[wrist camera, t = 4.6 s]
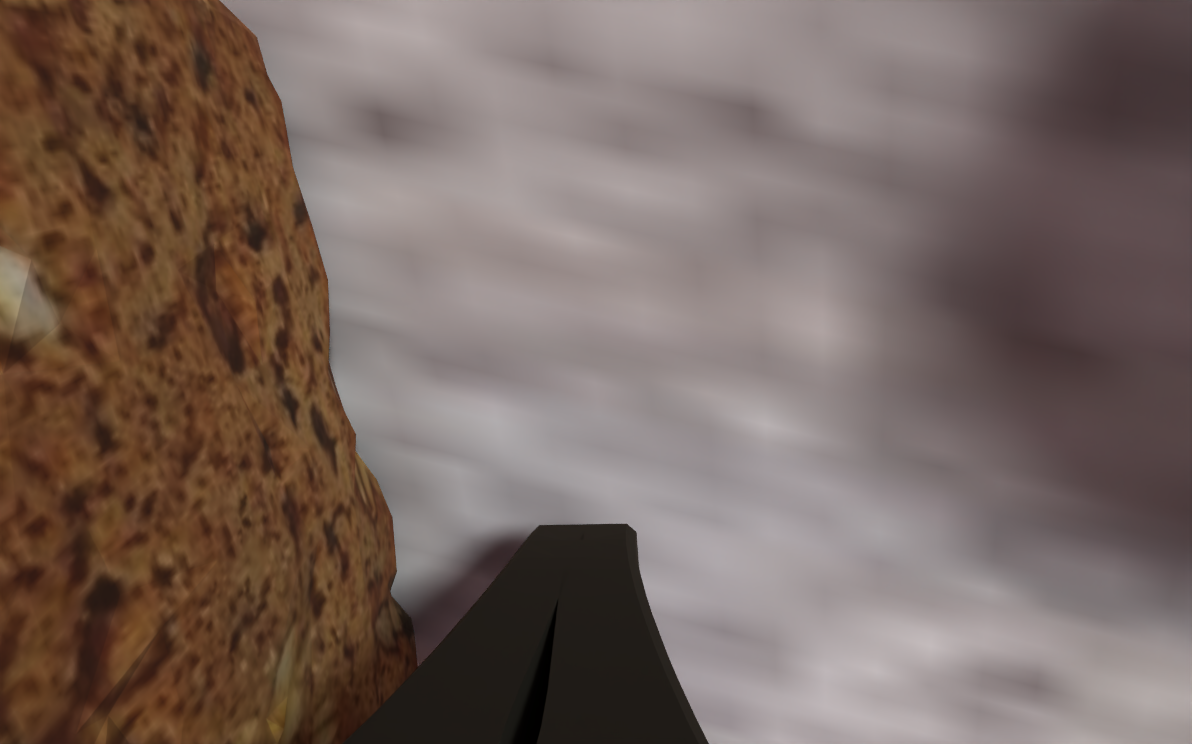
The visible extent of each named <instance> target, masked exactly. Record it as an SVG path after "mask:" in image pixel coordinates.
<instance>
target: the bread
mask: <svg viewBox="0 0 1192 744" xmlns="http://www.w3.org/2000/svg"><path fill="white" fill-rule="evenodd" d="M329 336H330V328H329V299H328V279H327V275H326V272H325V269H324V265H323V262H322V258H321V255H320V251H319V248H318V244H317V241H316V237H315V234H314V231H313V227H312V224H311V221H310V218H309V215H308V212H307V209H306V206H305V203H304V200H303V197H302V194H301V190H300V187H299V184H298V181H297V178H296V175H295V172H294V169H293V165H292V159H291V154H290V148H289V142H288V137H287V131H286V125H285V120H284V114H283V108H282V103H281V100H280V98H279V96H278V94H277V92H276V90H275V88H274V87H273V85H272V83H271V81H270V79H269V77H268V75H267V72H266V69H265V65H264V61H263V58H262V54H261V51H260V47H259V43H258V40H257V37H256V36H255V35H254V34H253V33H252V32H251V31H250V30H249V29H248V28H247V27H246V26H245V25H244V24H243V23H242V22H241V21H240V20H239V19H238V18H237V17H236V16H235V15H234V14H233V13H232V12H231V11H230V10H229V9H228V8H227V7H226V6H225V5H224V4H223V3H222V2H220V1H219V0H0V744H342V743H343V742H344V741H345V740H346V739H347V738H349V737H350V736H351V735H352V734H353V733H354V732H355V731H356V730H357V729H358V728H359V727H360V726H361V725H362V724H363V723H364V722H365V721H366V720H367V719H368V718H369V717H370V716H371V715H372V714H373V713H374V712H375V711H376V710H377V709H378V708H379V707H380V706H381V705H382V704H383V703H384V702H385V701H386V700H387V699H388V698H389V697H390V696H391V695H392V694H393V693H394V692H395V691H396V690H397V689H398V688H399V687H400V686H401V685H402V684H403V682H404V681H405V680H406V679H407V678H408V677H409V676H410V675H411V674H412V673H413V672H414V671H415V670H416V669H417V668H418V667H417V657H416V647H415V637H414V630H413V626H412V621H411V618H410V617H409V615H408V614H407V613H406V612H405V611H404V610H403V609H402V608H401V606H400V605H399V604H398V603H397V602H396V601H395V600H394V598H393V597H392V596H391V593H390V590H391V587H392V584H393V581H394V578H395V575H396V572H397V568H396V556H395V544H394V532H393V520H392V516H391V513H390V511H389V508H388V506H387V504H386V501H385V499H384V496H383V494H382V491H381V489H380V487H379V484H378V482H377V480H376V478H375V477H374V475H373V474H372V473H371V471H370V470H369V469H368V467H367V466H366V465H365V463H364V462H363V461H362V459H361V458H360V457H359V455H358V454H357V453H356V451H355V445H356V434H355V432H354V430H353V428H352V426H351V424H350V422H349V420H348V418H347V416H346V414H345V412H344V409H343V406H342V403H341V400H340V397H339V394H338V391H337V388H336V385H335V382H334V378H333V375H332V371H331V368H330V365H329V361H328V359H329Z"/></svg>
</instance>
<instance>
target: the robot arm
mask: <svg viewBox="0 0 1192 744" xmlns="http://www.w3.org/2000/svg"><path fill="white" fill-rule="evenodd" d="M342 744H709V743H708V741H707V739H706V737H705V735H704V733H703V731H702V729H701V727H700V725H699V723H698V721H697V719H696V717H695V715H694V713H693V711H692V709H691V706H690V704H689V702H688V700H687V698H686V696H685V694H684V691H683V689H682V687H681V685H680V683H679V681H678V678H677V676H676V674H675V671H674V669H673V667H672V664H671V662H670V660H669V657H668V655H667V652H666V649H665V647H664V644H663V642H662V639H661V636H660V634H659V631H658V628H657V626H656V623H655V620H654V618H653V615H652V612H651V609H650V606H649V603H648V600H647V597H646V593H645V589H644V586H643V582H642V578H641V575H640V570H639V562H638V548H637V533H636V531H634V530H633V529H632V528H631V527H630V526H629V525H628V524H587V525H539V526H538V527H537V528H536V529H535V530H534V531H533V532H532V533H531V535H530V536H529V537H528V538H527V540H526V541H525V542H524V543H523V545H522V546H521V547H520V548H519V550H518V551H517V552H516V553H515V555H514V556H513V557H512V559H511V560H510V561H509V562H508V564H507V565H506V566H505V567H504V569H503V570H502V571H501V572H500V574H499V575H498V576H497V577H496V579H495V580H494V581H493V582H492V583H491V585H490V586H489V587H488V588H487V590H486V591H485V592H484V593H483V595H482V596H481V597H480V598H479V599H478V600H477V602H476V603H475V604H474V605H473V606H472V607H471V609H470V610H469V611H468V612H467V613H466V614H465V616H464V617H463V618H462V619H461V620H460V621H459V622H458V624H457V625H456V626H455V627H454V628H453V629H452V631H451V632H450V633H449V634H448V635H447V636H446V638H445V639H444V640H443V641H442V642H441V643H440V644H439V645H438V647H437V648H436V649H435V650H434V651H433V652H432V653H431V654H430V655H429V656H428V657H427V658H426V659H425V661H424V662H423V663H422V664H421V665H420V666H419V667H418V668H417V669H416V670H415V671H414V672H413V673H412V674H411V675H410V676H409V677H408V678H407V679H406V680H405V681H404V682H403V684H402V685H401V686H400V687H399V688H398V689H397V690H396V691H395V692H394V693H393V694H392V695H391V696H390V697H389V698H388V699H387V700H386V701H385V702H384V703H383V704H382V705H381V706H380V707H379V708H378V709H377V710H376V711H375V712H374V713H373V714H372V715H371V716H370V717H369V718H368V719H367V720H366V721H365V722H364V723H363V724H362V725H361V726H360V727H359V728H358V729H357V730H356V731H355V732H354V733H353V734H352V735H351V736H350V737H349V738H347V739H346V740H345V741H344V742H343V743H342Z"/></svg>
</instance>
